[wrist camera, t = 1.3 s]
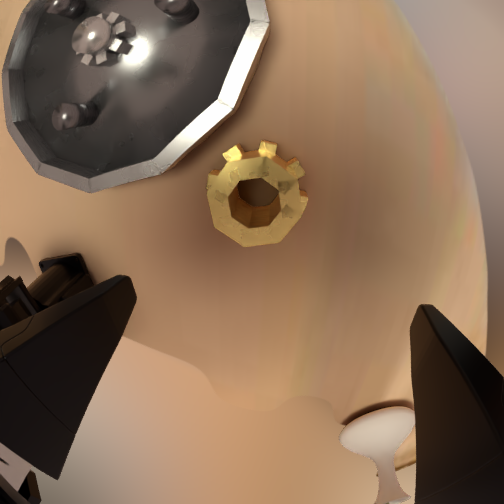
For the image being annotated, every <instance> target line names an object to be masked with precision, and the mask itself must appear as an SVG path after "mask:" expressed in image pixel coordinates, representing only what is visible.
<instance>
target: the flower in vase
mask: <svg viewBox="0 0 504 504" xmlns="http://www.w3.org/2000/svg"><path fill="white" fill-rule="evenodd" d="M414 425H415V411H413V410H412V409H410V408H408V407H403V406H395V407H388V408H383V409H379V410H376V411H373V412H370V413H368V414H365V415H363V416H361V417H359V418H357V419H355V420H353V421H352V422H350V423H349V424H348V425H346V426H345V427H344V429H343V430H342V432H341V434H340V436H339V441H340V442H341V444H342V446H344V447H345V448H347V449H348V450H350V451H352V452H355V453H357V454H360V455H363V456H365V457H368V458H370V459H372V460H373V461H374V462H375V464H376V466H377V470H378V477H379V490H378V496H377V499H376V501H375V503H374V504H398V503H401V502H404V501H406V500H408V499H410V498H411V496H409V495H408V494H406V493H405V492H404V491H403V490H402V488H401V487H400V484H399V482H398V480H397V477H396V473H395V468H394V455H395V452H396V450H397V449H398V448H399V446H400V445H401V444H402V443H403V441H404V440H405V439H406V438H407V436H408V435H409V434H410V432H411V431H412V429H413V427H414Z"/></svg>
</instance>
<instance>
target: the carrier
mask: <svg viewBox="0 0 504 504" xmlns="http://www.w3.org/2000/svg"><path fill="white" fill-rule="evenodd" d="M22 12H23V13H21V15H20V18H19V20H18V23H17V26H16V28H15V31H14V34H13V37H12V39H11V42H10V46H9V49H8V52H7V55H6V59H5V62H4V66H3V70H2V87H3V100H4V110H5V118H6V125H7V129H8V132H9V133H10V135H11V137H12V138H13V140H14V141H15V143H16V144H17V146H18V147H19V149H20V150H21V152H22V153H23V155H24V156H25V158H26V159H27V161H28V162H29V163H30V165H31V166H32V168H33V169H34V170H35V172H36V173H38V175H41V176H44V177H46V178H49V179H52V180H55V181H57V182H60V183H63V184H66V185H68V186H71V187H74V188H76V189H79V190H82V191H85V192H87V193H94V192H97V191H100V190H104V189H107V188H110V187H114V186H118V185H121V184H125V183H128V182H132V181H136V180H140V179H144V178H148V177H152V176H156V175H160V174H162V173H164V172H166V171H168V170H169V169H171V168H173V167H174V166H175V165H176V164H177V163H178V162H179V161H180V160H181V159H183V158H184V157H185V156H186V155H187V154H188V153H189V152H190V151H192V150H193V149H194V148H196V147H197V146H198V145H199V144H201V143H202V142H203V141H204V140H206V139H207V138H208V137H209V136H210V135H211V134H212V133H213V132H214V131H215V130H216V129H217V128H218V127H219V126H220V125H221V124H222V123H223V122H224V121H225V120H227V119H228V118H229V117H230V116H231V115H233V114H234V113H235V112H236V111H237V110H236V109H238V108H239V106H240V103H241V101H242V98H243V96H244V94H245V92H246V91H247V89H248V87H249V84H250V82H251V80H252V78H253V76H254V74H255V72H256V69H257V66H258V63H259V60H260V57H261V54H262V50H263V48H264V45H265V43H266V41H267V39H268V36H269V34H270V21H269V17H268V13H267V8H266V4H265V0H30V2H29V3H28V4H27V6H26V7H25V8H24V10H23V11H22Z"/></svg>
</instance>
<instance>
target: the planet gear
mask: <svg viewBox="0 0 504 504" xmlns="http://www.w3.org/2000/svg"><path fill="white" fill-rule="evenodd" d="M276 148H277V143H274V142H270V141H266V140H262V141H261V143H260V147H259V150H254V151H248V152H244V150H243V149H242V147H241V146H240V144H237V145H235V146H234V147H232V148H231V149H229V150H227V151H226V152H225V153H223V154H222V155H223V156H224V158H225V159H226V161H227V163H226V165H225V166H224V168H223V169H222V171H219V170H213V171H211V172H210V173H209V175H208V181H207V186H206V189H209V190H208V191H207V198H208V202H209V207H210V211H211V215H212V220H213V224H214V227H215V228H216V229H218V230H219V231H221V232H222V233H224V234H225V235H226V236H228V237H229V238H231V239H232V240H234V241H235V242H237V243H238V244H240V245H241V246H243V247H249V246H257V245H266V244H274V243H280V242H281V240H282V239H283V238H284V237H285V236H286V234H287V233H288V232H289V231H290V230H291V229H292V227H293V226H294V225H295V224H296V223H297V221H298V220H299V219H300V218H301V217H302V212H304V211H305V207H306V204H307V201H308V196H307V193H306V191H302V190H299V185H298V178H300V177H302V176H304V175H305V172H304V171H303V169H302V167H301V165H300V164H299V162H298V160H297V159H296V157H295V158H293V159H291V160H289V161H288V162H286V161H284V160H283V159H282V158H280V157H279V156H277V155H276V154H275V152H276ZM254 178H262V179H264V180H265V181H266V182H268V183H269V184H271V185H272V186H273V187H275V188H276V189H278V190H279V194H278V195H277V196H276V198H275V199H274V200H273V202H272V203H271V204H270V205H265V206H258V207H252V206H251V205H249V204H248V203H247V202H245V201H244V200H242V199H241V198H239V192H238V187H237V183H238V182H239V181H241V180H247V179H254Z"/></svg>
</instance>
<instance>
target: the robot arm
mask: <svg viewBox="0 0 504 504" xmlns="http://www.w3.org/2000/svg"><path fill="white" fill-rule="evenodd" d="M76 258H77V259H76ZM39 266H40V268H41V271H42V274H41V275H40V276H39V277H38V278H37V279H36V280H35V281H34V282H32V283H31V284H30V285H29V286H28V287H27V288H26V286H25V285H24V283H23V280H22V278H21V277H20V276H19V277H18V278H17V279H13V278H12V277H10V276H9V275H8V276H7V277H6V278H5V279H3V280H2V281H1V282H0V504H40V502H41V497H40V493H39V489H38V485H37V480H36V475H35V473H34V472H33V471H32V470H31V467H32V465H33V466H34V467H36V468H37V469H39V470H40V471H42V472H44V473H45V474H47V475H49V476H51V477H53V478H54V479H56V480H58V479H59V477H60V474H61V472H62V469H63V466H64V463H65V461H66V458H67V456H68V453H69V450H70V448H71V445H72V443H73V440H74V438H75V434H76V433H77V430H78V428H79V426H80V423H81V421H82V418H83V416H84V414H85V412H86V410H87V407H88V405H89V403H90V401H91V399H92V396H93V394H94V392H95V390H96V388H97V386H98V383H99V381H100V379H101V377H102V375H103V373H104V371H105V369H106V367H107V365H108V363H109V361H110V359H111V357H112V355H113V353H114V351H115V349H116V347H117V345H118V343H119V341H120V339H121V337H122V335H123V333H124V330H125V328H126V325H127V323H128V320H129V318H130V315H131V313H132V311H133V308H134V306H135V304H136V300H137V296H136V292H135V289H134V286H133V283H132V280H131V278H130V277H129V276H125V275H117V276H115V277H112V278H110V279H108V280H106V281H104V282H102V283H99V284H97V285H95V286H94V285H93V283H92V281H91V278H90V276H89V274H88V272H87V269H86V267H85V265H84V262H83V260H82V257H81V256H80V255H79V254H70V255H65V256H59V257H54V258H48V259H43V260H41V261H40V262H39ZM410 346H411V378H412V388H413V399H414V411H415V427H416V488H415V503H414V504H504V377H503V376H502V375H501V374H500V373H499V372H498V370H497V369H496V368H495V367H494V366H493V365H492V364H491V363H490V362H489V361H488V359H486V357H485V356H484V355H483V354H482V353H481V352H480V351H479V350H478V349H477V348H476V347H475V346H474V345H473V344H472V343H471V342H470V341H469V340H468V339H467V338H466V337H465V336H464V335H463V334H462V333H461V332H460V331H459V330H458V329H457V328H456V327H455V326H454V325H453V324H452V323H451V322H450V321H449V320H448V319H447V318H446V317H445V316H444V315H443V314H442V313H441V312H440V311H439V310H438V309H436V308H435V307H434V306H433V305H430V304H421V305H419V306H418V308H417V311H416V313H415V316H414V318H413V321H412V323H411V326H410Z"/></svg>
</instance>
